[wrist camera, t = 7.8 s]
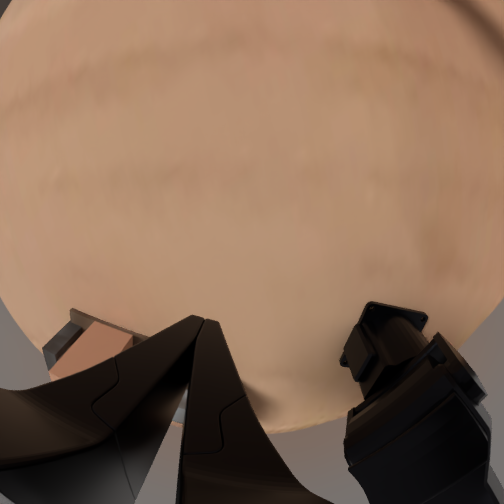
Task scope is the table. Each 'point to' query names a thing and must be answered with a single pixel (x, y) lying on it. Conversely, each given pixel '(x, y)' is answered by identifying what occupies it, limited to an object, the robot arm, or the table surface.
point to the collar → (91, 350)
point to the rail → (75, 330)
